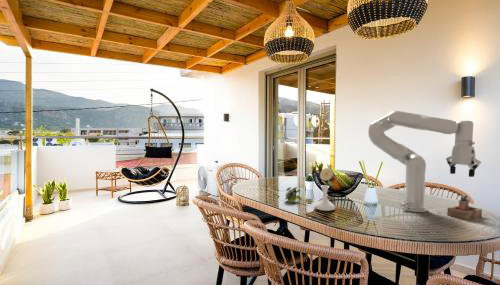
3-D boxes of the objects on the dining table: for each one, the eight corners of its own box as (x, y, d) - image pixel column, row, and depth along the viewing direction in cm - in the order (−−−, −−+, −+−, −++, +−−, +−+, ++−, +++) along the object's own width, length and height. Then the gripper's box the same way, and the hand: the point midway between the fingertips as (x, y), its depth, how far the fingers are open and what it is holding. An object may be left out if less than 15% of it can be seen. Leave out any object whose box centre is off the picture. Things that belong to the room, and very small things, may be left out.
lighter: (464, 216, 146) (464, 197, 146) (456, 214, 149) (457, 195, 149) (470, 213, 151) (470, 195, 150) (462, 211, 154) (463, 193, 153)
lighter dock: (465, 220, 143) (465, 212, 143) (447, 215, 152) (447, 207, 151) (481, 216, 148) (481, 209, 148) (463, 212, 157) (463, 205, 156)
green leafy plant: (288, 208, 185) (289, 191, 191) (304, 207, 180) (305, 190, 186) (281, 202, 177) (283, 184, 184) (297, 201, 172) (298, 183, 178)
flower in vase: (311, 208, 167) (311, 166, 165) (327, 206, 170) (327, 165, 169) (323, 214, 154) (324, 169, 153) (341, 212, 158) (341, 168, 157)
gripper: (486, 144, 144) (484, 177, 145) (452, 142, 161) (450, 172, 162) (476, 144, 142) (474, 178, 143) (442, 142, 158) (441, 172, 159)
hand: (461, 175), depth 152 cm, fingers open, 9 cm apart
